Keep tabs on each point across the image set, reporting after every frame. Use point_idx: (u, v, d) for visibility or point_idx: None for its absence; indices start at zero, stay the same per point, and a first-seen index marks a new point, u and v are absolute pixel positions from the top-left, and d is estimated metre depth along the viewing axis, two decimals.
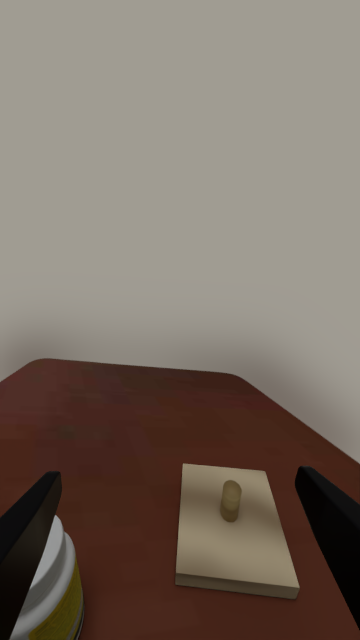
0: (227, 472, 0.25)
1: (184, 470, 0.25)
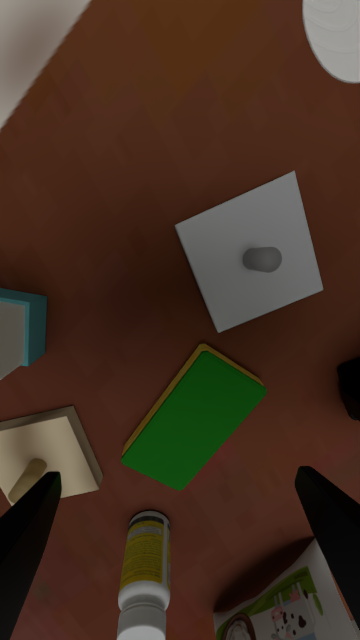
0: None
1: None
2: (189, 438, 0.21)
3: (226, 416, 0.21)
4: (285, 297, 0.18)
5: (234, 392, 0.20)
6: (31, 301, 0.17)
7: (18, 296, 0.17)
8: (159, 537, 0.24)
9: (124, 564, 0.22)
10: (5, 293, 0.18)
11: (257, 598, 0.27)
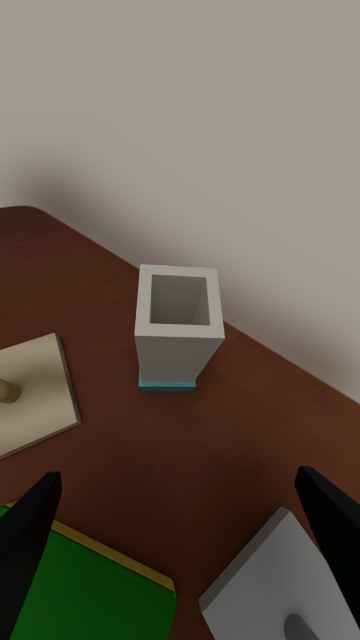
0: (8, 352, 0.22)
1: None
2: (33, 627, 0.14)
3: None
4: None
5: None
6: (195, 386, 0.21)
7: None
8: None
9: None
10: None
11: None
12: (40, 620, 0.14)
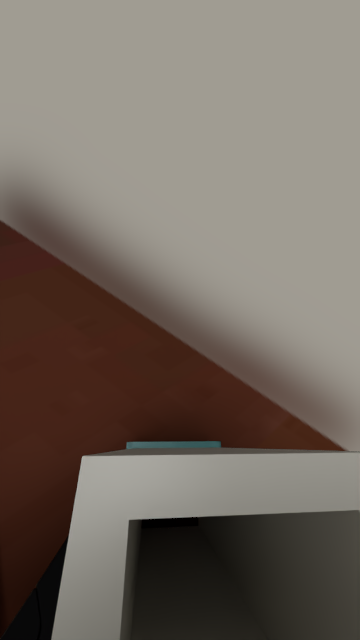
0: None
1: None
2: None
3: None
4: None
5: None
6: None
7: None
8: None
9: None
10: None
11: None
12: None
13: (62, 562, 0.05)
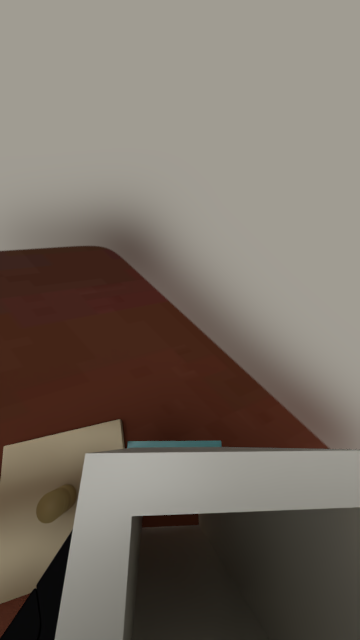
0: (69, 438, 0.19)
1: (5, 456, 0.18)
2: None
3: None
4: None
5: None
6: None
7: None
8: None
9: None
10: None
11: None
12: None
13: (62, 562, 0.05)
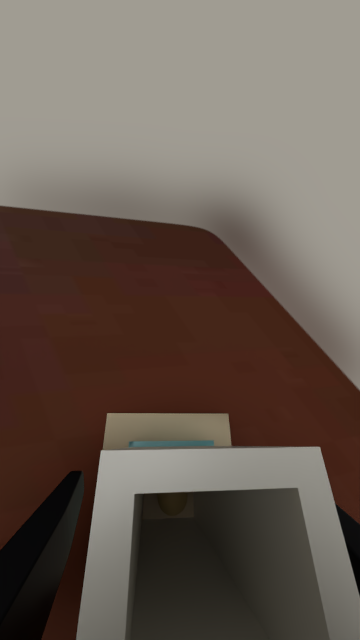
0: (173, 421, 0.17)
1: (108, 425, 0.16)
2: None
3: None
4: None
5: None
6: None
7: None
8: None
9: None
10: None
11: None
12: None
13: None
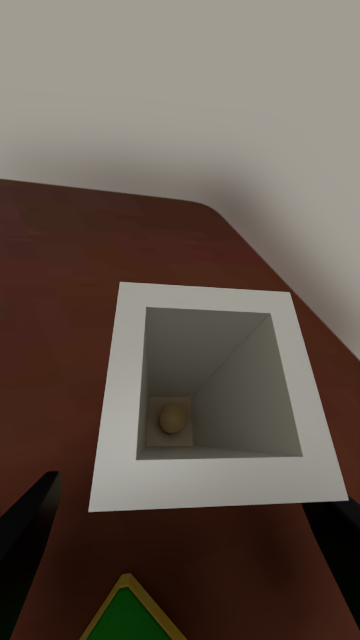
0: None
1: None
2: None
3: None
4: None
5: None
6: None
7: None
8: None
9: None
10: None
11: None
12: None
13: None
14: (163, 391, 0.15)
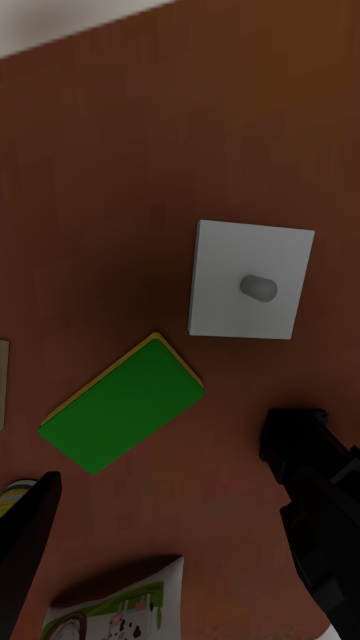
0: None
1: None
2: (116, 422, 0.21)
3: (159, 409, 0.21)
4: (259, 331, 0.20)
5: (173, 386, 0.20)
6: None
7: None
8: None
9: None
10: None
11: (102, 601, 0.26)
12: (116, 419, 0.20)
13: None
14: None
